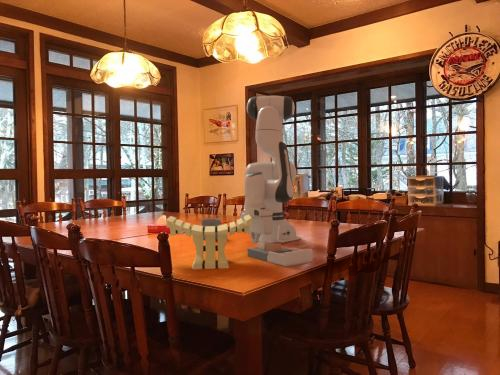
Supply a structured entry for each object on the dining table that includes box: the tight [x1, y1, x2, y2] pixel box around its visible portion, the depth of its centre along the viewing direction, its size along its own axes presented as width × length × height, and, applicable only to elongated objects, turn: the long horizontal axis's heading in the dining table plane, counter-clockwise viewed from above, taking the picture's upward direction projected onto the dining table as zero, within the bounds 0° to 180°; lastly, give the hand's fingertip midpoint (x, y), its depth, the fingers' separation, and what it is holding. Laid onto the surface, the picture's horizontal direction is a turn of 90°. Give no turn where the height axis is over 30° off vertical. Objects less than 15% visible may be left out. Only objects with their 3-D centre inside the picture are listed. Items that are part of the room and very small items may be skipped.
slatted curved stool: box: [166, 214, 252, 270], centre depth 152 cm, size 30×16×18 cm, turn 95°
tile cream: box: [257, 241, 274, 250], centre depth 167 cm, size 4×4×2 cm
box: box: [266, 247, 313, 268], centre depth 154 cm, size 13×11×5 cm
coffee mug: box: [200, 217, 222, 241], centre depth 213 cm, size 13×10×10 cm
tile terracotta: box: [266, 242, 283, 252], centre depth 162 cm, size 4×4×2 cm
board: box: [247, 246, 293, 262], centre depth 164 cm, size 13×13×3 cm
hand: (255, 242), depth 172 cm, fingers closed
